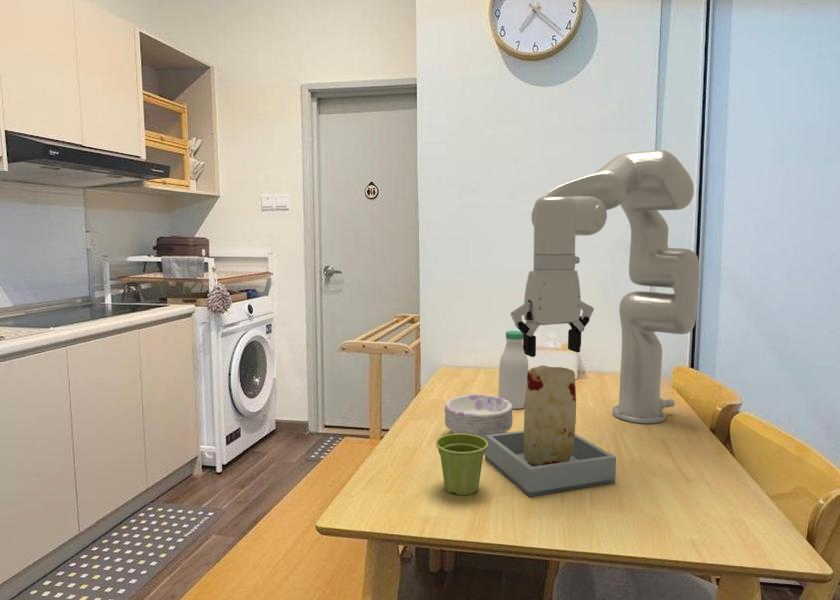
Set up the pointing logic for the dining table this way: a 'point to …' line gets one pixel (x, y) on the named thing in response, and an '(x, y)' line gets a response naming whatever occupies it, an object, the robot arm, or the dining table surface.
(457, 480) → the plant pot
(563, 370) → the food model
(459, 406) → the paper bowls
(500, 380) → the milk bottle
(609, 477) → the bin
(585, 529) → the dining table surface
